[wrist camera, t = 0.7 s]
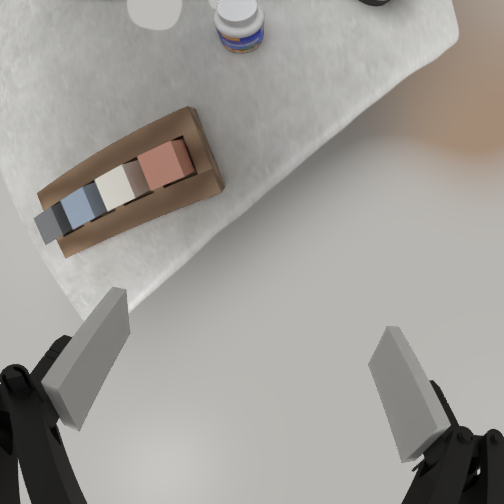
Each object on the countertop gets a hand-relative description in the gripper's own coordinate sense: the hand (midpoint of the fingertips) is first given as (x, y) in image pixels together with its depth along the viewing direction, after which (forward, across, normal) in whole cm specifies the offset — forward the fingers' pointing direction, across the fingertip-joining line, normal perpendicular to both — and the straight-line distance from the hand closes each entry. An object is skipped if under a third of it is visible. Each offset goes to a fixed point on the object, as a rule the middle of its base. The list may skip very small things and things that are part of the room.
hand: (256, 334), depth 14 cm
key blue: (+23, -21, -1) cm, 31 cm away
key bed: (+26, -19, 0) cm, 32 cm away
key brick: (+23, -11, +4) cm, 26 cm away
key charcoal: (+23, -27, -4) cm, 35 cm away
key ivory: (+23, -16, +2) cm, 28 cm away
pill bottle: (+27, -6, +22) cm, 35 cm away
